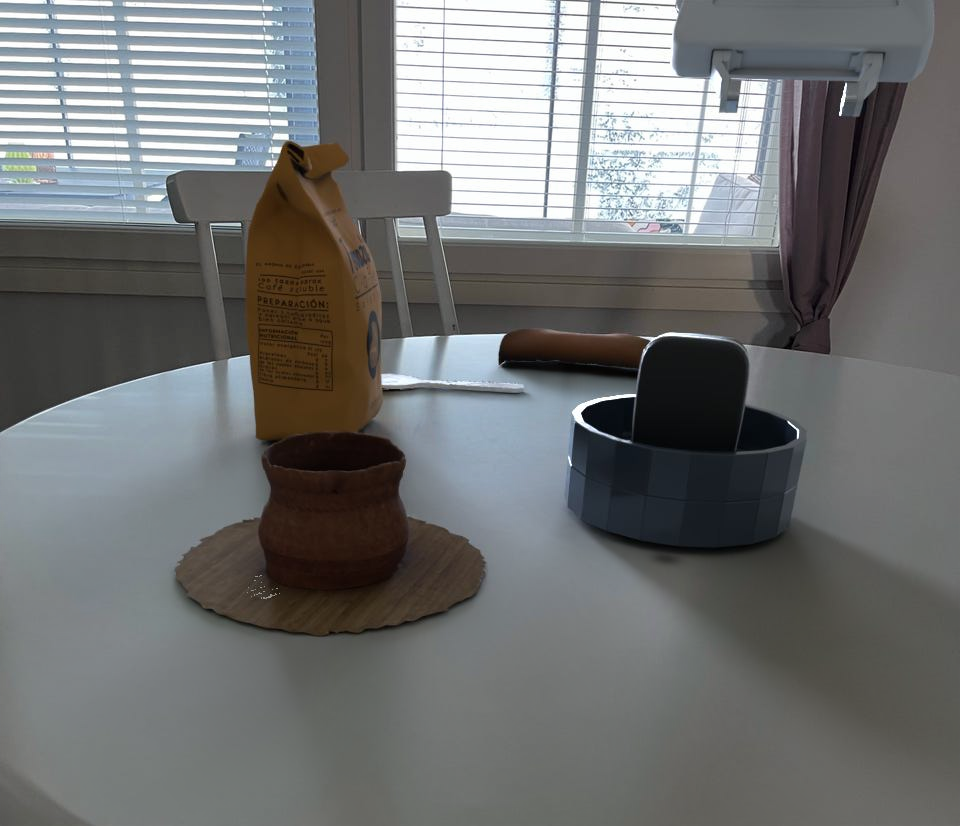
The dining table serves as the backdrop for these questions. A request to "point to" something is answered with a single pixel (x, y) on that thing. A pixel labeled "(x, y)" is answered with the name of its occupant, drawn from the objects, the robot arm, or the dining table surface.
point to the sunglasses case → (572, 348)
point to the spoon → (446, 384)
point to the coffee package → (311, 302)
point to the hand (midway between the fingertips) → (789, 108)
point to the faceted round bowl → (682, 479)
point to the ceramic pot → (331, 545)
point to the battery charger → (691, 392)
